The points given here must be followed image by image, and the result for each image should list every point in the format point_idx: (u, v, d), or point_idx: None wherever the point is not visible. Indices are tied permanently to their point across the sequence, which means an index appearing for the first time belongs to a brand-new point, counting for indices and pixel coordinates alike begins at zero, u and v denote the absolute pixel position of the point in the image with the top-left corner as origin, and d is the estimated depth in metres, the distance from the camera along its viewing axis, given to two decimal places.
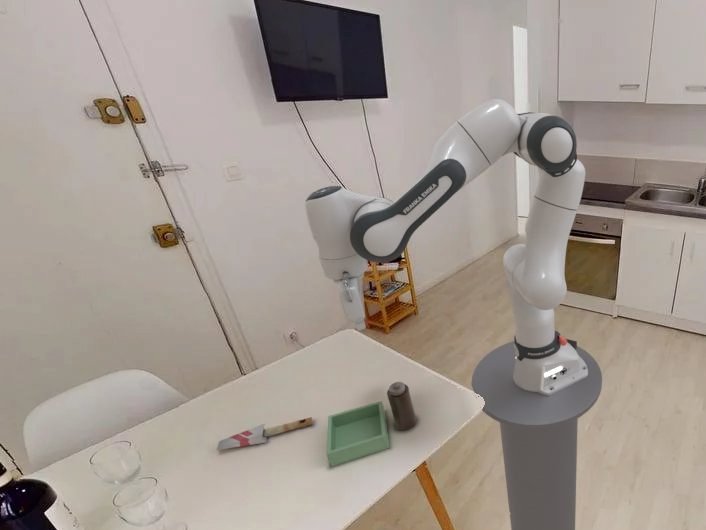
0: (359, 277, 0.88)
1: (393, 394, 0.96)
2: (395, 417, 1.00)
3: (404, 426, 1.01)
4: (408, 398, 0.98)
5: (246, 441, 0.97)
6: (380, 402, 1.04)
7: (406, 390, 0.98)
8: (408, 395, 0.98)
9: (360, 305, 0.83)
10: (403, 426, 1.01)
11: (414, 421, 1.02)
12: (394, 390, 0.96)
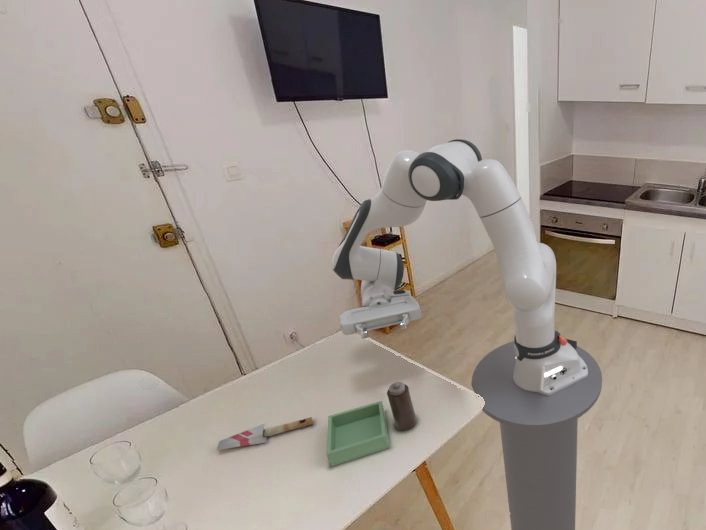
0: (370, 305, 1.11)
1: (393, 394, 0.96)
2: (395, 417, 1.00)
3: (404, 426, 1.01)
4: (408, 398, 0.98)
5: (246, 441, 0.97)
6: (380, 402, 1.04)
7: (406, 390, 0.98)
8: (408, 395, 0.98)
9: (340, 319, 1.06)
10: (403, 426, 1.01)
11: (414, 421, 1.02)
12: (394, 390, 0.96)
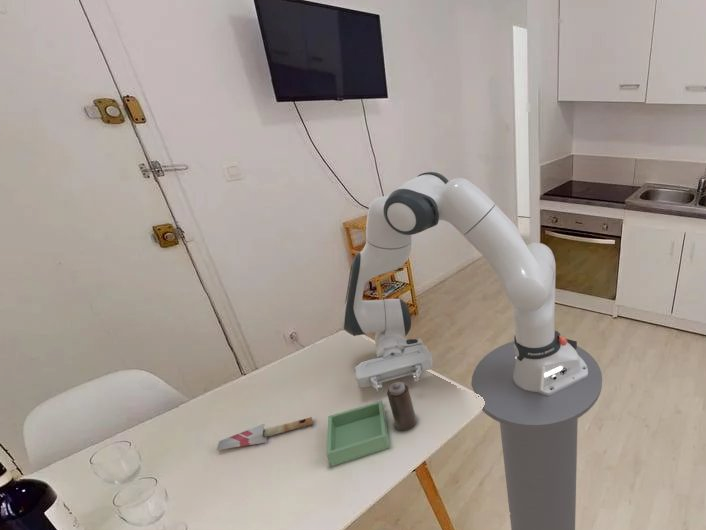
0: (384, 356, 1.14)
1: (393, 394, 0.96)
2: (395, 417, 1.00)
3: (404, 426, 1.01)
4: (408, 398, 0.98)
5: (246, 441, 0.97)
6: (380, 402, 1.04)
7: (406, 390, 0.98)
8: (408, 395, 0.98)
9: (356, 371, 1.09)
10: (403, 426, 1.01)
11: (414, 421, 1.02)
12: (394, 390, 0.96)
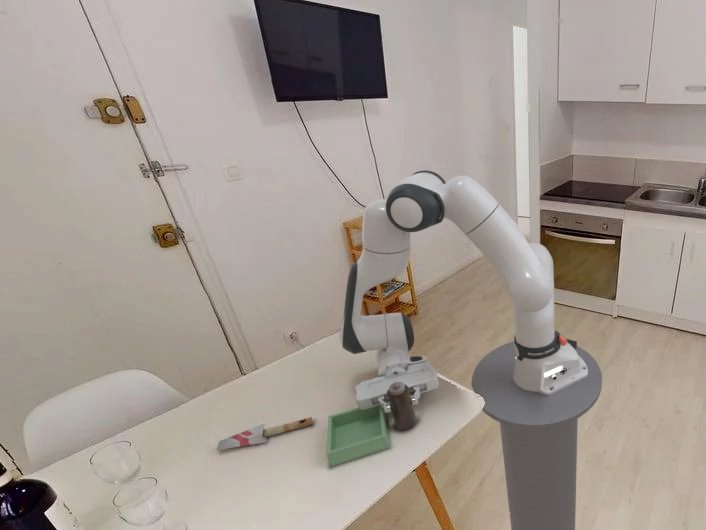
0: (386, 375, 1.07)
1: (393, 394, 0.96)
2: (395, 417, 1.00)
3: (404, 426, 1.01)
4: (407, 398, 0.98)
5: (246, 441, 0.97)
6: None
7: (406, 390, 0.98)
8: (408, 395, 0.98)
9: (356, 392, 1.02)
10: (403, 426, 1.01)
11: (414, 421, 1.02)
12: (394, 390, 0.96)
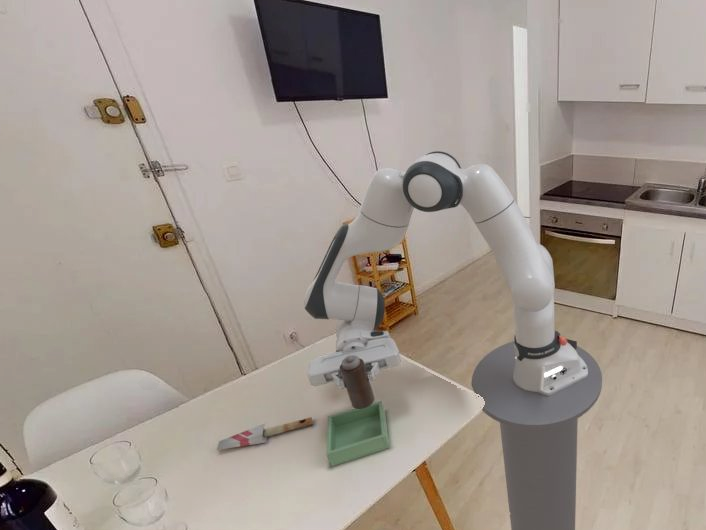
0: (343, 350, 0.99)
1: (345, 368, 0.89)
2: (349, 394, 0.92)
3: (360, 404, 0.93)
4: (362, 373, 0.91)
5: (246, 441, 0.97)
6: (380, 402, 1.04)
7: (361, 364, 0.90)
8: (363, 370, 0.91)
9: (309, 367, 0.94)
10: (359, 403, 0.93)
11: (371, 399, 0.95)
12: (347, 364, 0.89)
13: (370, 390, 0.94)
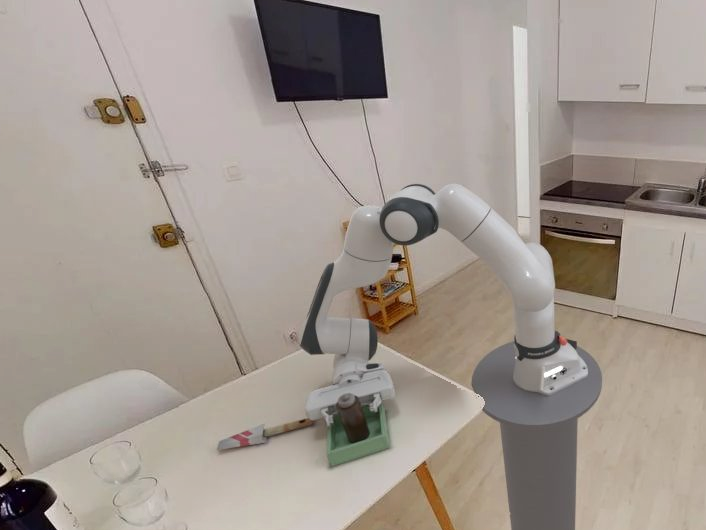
0: (339, 383, 1.02)
1: (341, 406, 0.92)
2: (345, 430, 0.96)
3: (355, 439, 0.97)
4: (358, 410, 0.94)
5: (246, 441, 0.97)
6: None
7: (356, 402, 0.94)
8: (358, 407, 0.94)
9: (306, 402, 0.98)
10: (354, 439, 0.97)
11: (366, 434, 0.98)
12: (343, 402, 0.92)
13: (365, 425, 0.98)
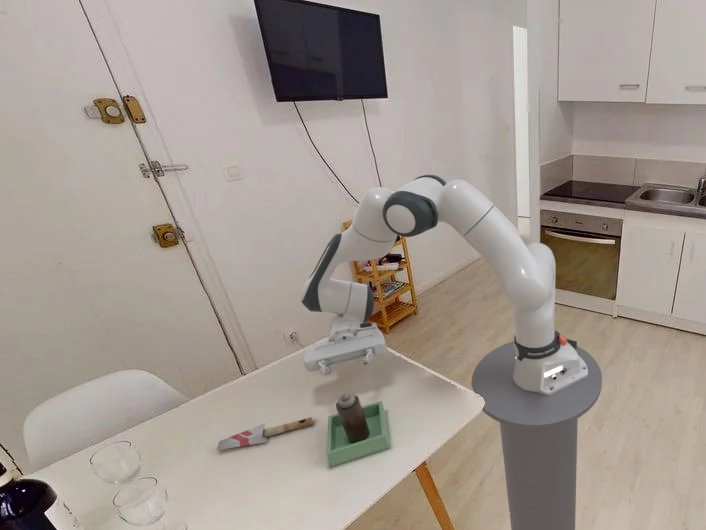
0: (335, 340, 1.10)
1: (341, 406, 0.92)
2: (345, 430, 0.96)
3: (355, 439, 0.97)
4: (358, 410, 0.94)
5: (246, 441, 0.97)
6: (380, 402, 1.04)
7: (356, 402, 0.94)
8: (358, 407, 0.94)
9: (304, 355, 1.06)
10: (354, 439, 0.97)
11: (366, 434, 0.98)
12: (343, 402, 0.92)
13: (365, 425, 0.98)
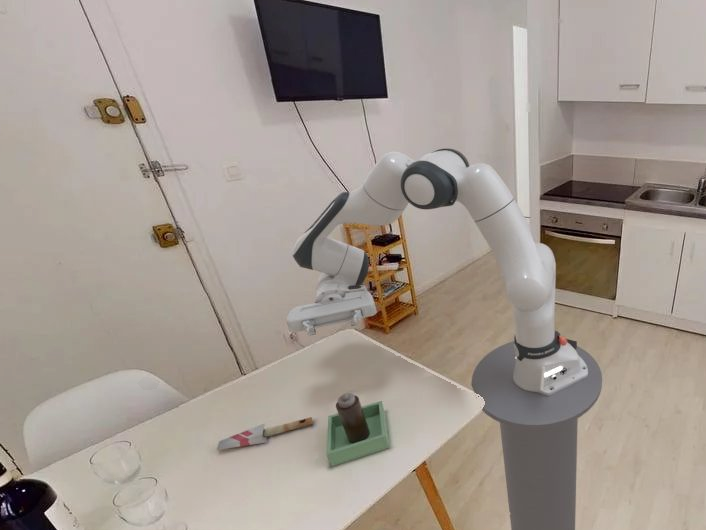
0: (321, 301, 1.04)
1: (341, 406, 0.92)
2: (345, 430, 0.96)
3: (355, 439, 0.97)
4: (358, 410, 0.94)
5: (246, 441, 0.97)
6: (380, 402, 1.04)
7: (356, 402, 0.94)
8: (358, 407, 0.94)
9: (288, 315, 1.00)
10: (354, 439, 0.97)
11: (366, 434, 0.98)
12: (343, 402, 0.92)
13: (365, 425, 0.98)
